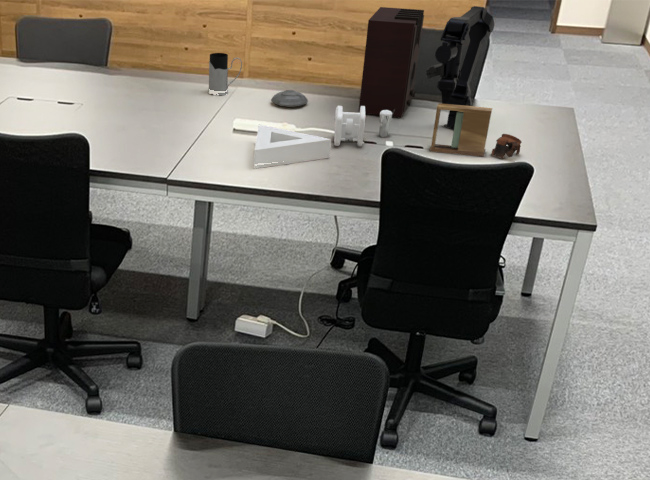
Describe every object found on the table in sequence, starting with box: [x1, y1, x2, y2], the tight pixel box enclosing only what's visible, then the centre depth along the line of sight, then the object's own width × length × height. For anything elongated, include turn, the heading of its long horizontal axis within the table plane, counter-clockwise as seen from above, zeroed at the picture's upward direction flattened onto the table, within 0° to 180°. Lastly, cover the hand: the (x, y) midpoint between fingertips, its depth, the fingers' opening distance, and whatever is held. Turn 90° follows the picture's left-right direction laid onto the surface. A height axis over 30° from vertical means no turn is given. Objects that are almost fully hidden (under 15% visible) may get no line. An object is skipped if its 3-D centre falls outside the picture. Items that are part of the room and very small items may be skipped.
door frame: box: [429, 102, 493, 158], centre depth 344 cm, size 5×19×16 cm, turn 71°
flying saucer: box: [270, 89, 309, 108], centre depth 395 cm, size 15×15×6 cm
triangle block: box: [253, 124, 332, 170], centre depth 346 cm, size 30×26×6 cm
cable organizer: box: [333, 105, 366, 148], centre depth 353 cm, size 15×11×12 cm
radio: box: [357, 6, 425, 119], centre depth 382 cm, size 19×27×35 cm
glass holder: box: [208, 52, 243, 96], centre depth 406 cm, size 9×14×15 cm, turn 96°
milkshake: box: [378, 110, 394, 138], centre depth 360 cm, size 4×5×10 cm
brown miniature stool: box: [490, 133, 522, 160], centre depth 343 cm, size 12×10×8 cm
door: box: [450, 111, 464, 148], centre depth 345 cm, size 7×9×12 cm
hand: (445, 103), depth 355 cm, fingers open, 9 cm apart
